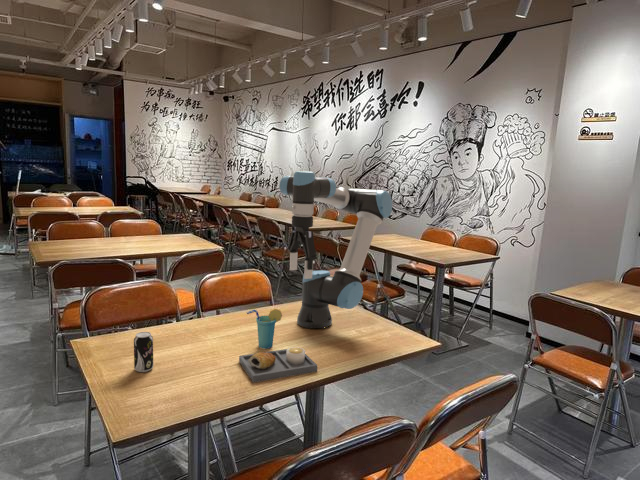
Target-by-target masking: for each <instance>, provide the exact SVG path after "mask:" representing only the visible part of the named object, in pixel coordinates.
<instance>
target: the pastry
mask: <svg viewBox="0 0 640 480" xmlns="http://www.w3.org/2000/svg"><path fill="white" fill-rule="evenodd" d="M252 354H253V356H252V357H251V358H250V359H249V363H250V365H251V366H254V367H257V368H259V369H266V368H267V367H268V368H269V367H270V366H271V365H273V364H274V363H275V360H276V357H275V356H274V355H273V354H271V353H262V352H260V351H259V352H257V354H256V353H252Z"/></svg>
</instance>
